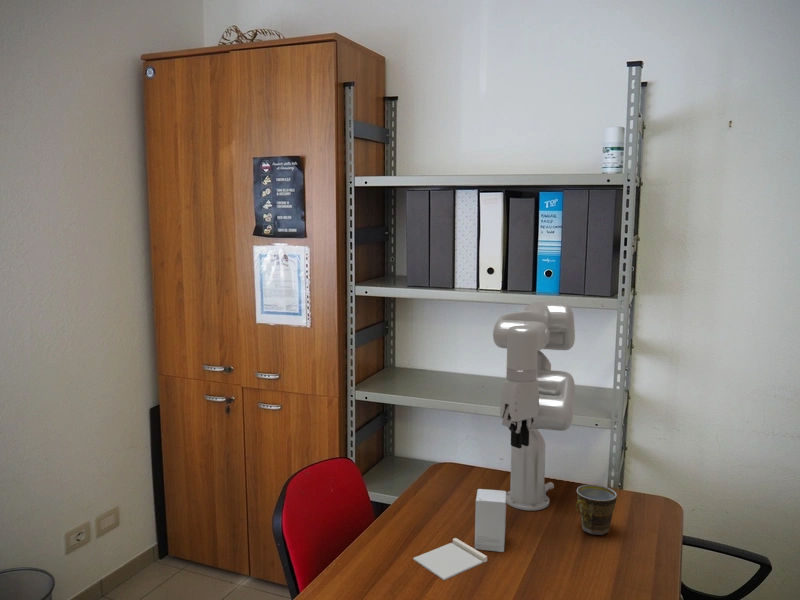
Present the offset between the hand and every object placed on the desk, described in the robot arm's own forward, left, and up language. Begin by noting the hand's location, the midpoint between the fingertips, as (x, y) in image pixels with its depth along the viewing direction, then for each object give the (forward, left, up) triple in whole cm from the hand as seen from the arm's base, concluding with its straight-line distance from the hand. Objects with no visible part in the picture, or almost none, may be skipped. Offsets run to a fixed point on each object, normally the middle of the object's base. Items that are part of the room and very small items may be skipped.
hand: (519, 445), depth 159 cm
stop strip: (+17, 0, -23) cm, 29 cm away
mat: (+24, 0, -23) cm, 33 cm away
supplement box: (+10, 0, -23) cm, 25 cm away
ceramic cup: (-16, +11, -23) cm, 30 cm away
